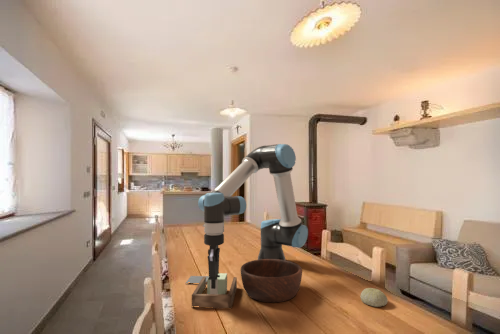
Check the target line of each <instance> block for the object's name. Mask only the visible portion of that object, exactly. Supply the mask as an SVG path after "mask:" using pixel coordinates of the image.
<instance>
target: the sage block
mask: <svg viewBox="0 0 500 334" xmlns="http://www.w3.org/2000/svg"><path fill="white" fill-rule="evenodd" d="M218 275H220V277H217V278H218V294H227V292H228V273H227V272H225V273H221V272H219V274H218ZM208 278H209V277H208ZM206 294H210V280H208V279H207V283H206Z"/></svg>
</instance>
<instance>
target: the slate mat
mask: <svg viewBox="0 0 500 334" xmlns="http://www.w3.org/2000/svg"><path fill="white" fill-rule="evenodd" d="M203 277H206V282H207V279H208V277H209V275H190V277H189V278H188V279H187V280H186V282H185V284H186V283H188V282H190V283H200V281H201V279H202V278H203Z"/></svg>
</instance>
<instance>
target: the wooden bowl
mask: <svg viewBox="0 0 500 334" xmlns="http://www.w3.org/2000/svg"><path fill="white" fill-rule="evenodd" d="M302 277H303V268H302V267H301V266H300V265H299V264H298V263H296V262H293V261H290V260H286V259H285V260H280V259H259V260H258V259H255V260H251V261H247V262H245V263H243V264H242V265H241V266H240V278H241V282H242V286H243V289H244V292H246V294H247V296H249V297H250V298H252V299H253V300H255V301H259V302H262V303H263V302H264V303H282V302H287V301H290V300H291V299H293V298H294V297H296V295H297V293H298V292H299V290H300V287H301V282H302Z"/></svg>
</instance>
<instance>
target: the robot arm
mask: <svg viewBox="0 0 500 334" xmlns="http://www.w3.org/2000/svg"><path fill="white" fill-rule="evenodd" d="M296 161H297V158H296V152H295V151H294V148H292V146H290V145H289V144H286V143H277V144H269V145H261V146H258V147H257V148H255V149H253V150H252V151H251V152H249V153H248V154H247V155H246V156H244V157H243V158H242V160H241V163H240V164H239V165H238V166H237V167H236V168H235V169H234V170H233V171H232V172H231V173H230V174H229V175H227V177H226V178H225V179H224V180H222V182H221V183H219V185H217V186H216V188H214V189H213V190H212V191H211V192H207V193H205V194H203V195H201V196H200V197H199V198H198V202H197V203H198V204H197V205H198V208H199V209H200V211H201V212H203V213H204V215H203V216H204V217H203V218H204V219H203V221H204V224H202V227H203V231H204V235H203V243H204V245H206V246H209V249H208V250H207V264H208V265H207V266H208V267H207V268H208V276H209V278H208V280H210V294H218V278H217V277H220V275H218V274H219V273H220V272H219V271H220V252H221V247H219V246H221V245H223V244H224V243H225V234H224V232H225V217H229V216H238V215H241V214H244V213H245V212H246V210H247V200H246V199H245V198H244V197H242V196H241V195H240V196H239V195H235V196H233V195H234V194H235V192H237V191H238V190H239V188H241V186H242V185H243V184H244V183H245V182H247V180H248V179H249V178H250V177H251V176H252V175H253V174H256V173H257V172H258V171H260V170H262V169H268V170H269V174H270V175H272V176H273V181H274V185H275V186H274V187H275V192H276V198H277V203H278V208H279V213H280V214H279V215H280V218H274V219H273V218H272V219H265V220H262V221H261V222H260V249H259V253H258V255H257V260H259V259H280V260H286V256H285V253H284V250H283V246H287V247H291V248H302V247H303V246H304V245H305V244H306V242H307V239H308V237H309V236H308V235H309V229H308V226H307V225H305V224H302V219H301V218H300V217H299V215H298V210H297V204H296V199H295V194H294V186H293V182H292V176H291V173H292V171H293V167H294V166H295V165H296Z"/></svg>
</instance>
